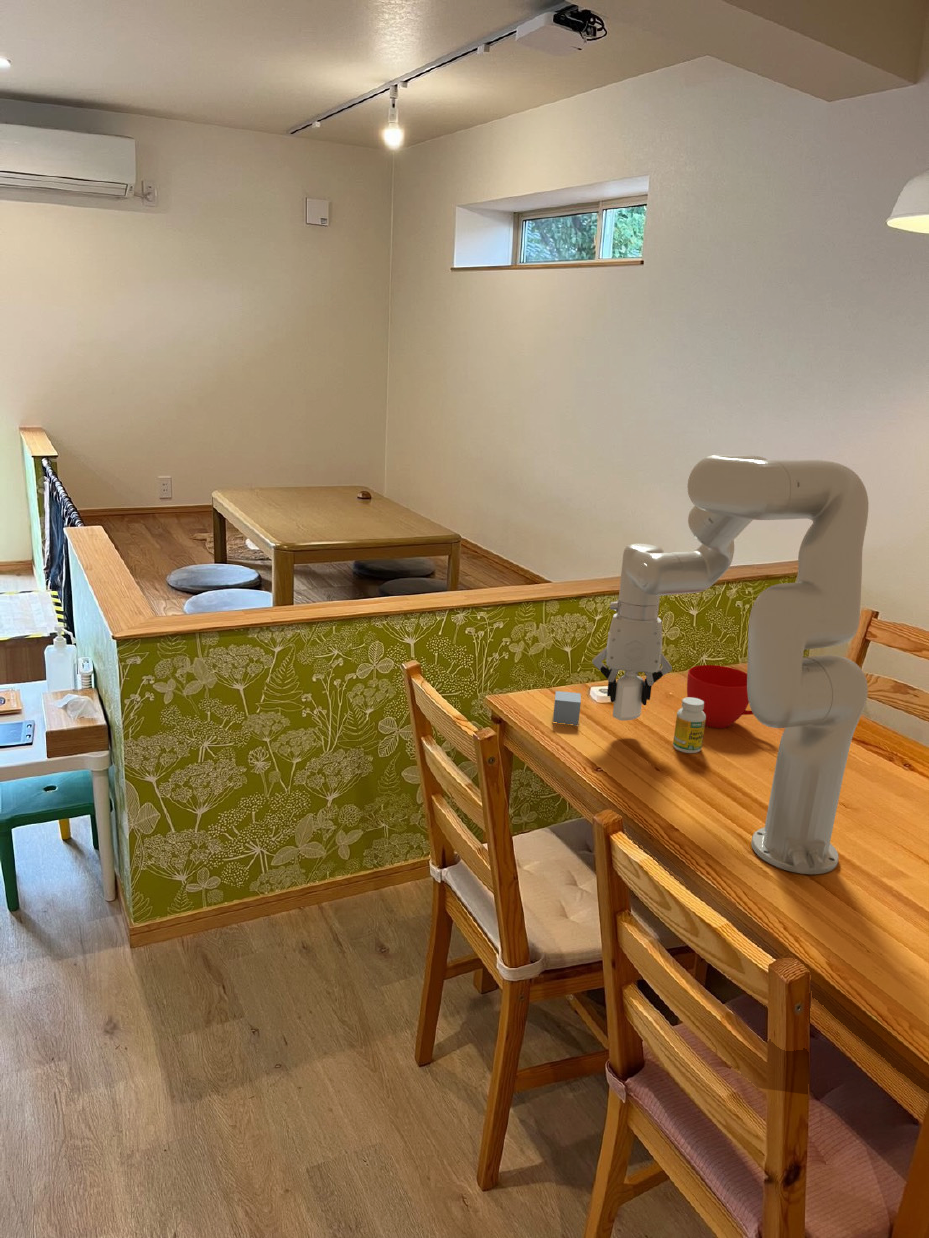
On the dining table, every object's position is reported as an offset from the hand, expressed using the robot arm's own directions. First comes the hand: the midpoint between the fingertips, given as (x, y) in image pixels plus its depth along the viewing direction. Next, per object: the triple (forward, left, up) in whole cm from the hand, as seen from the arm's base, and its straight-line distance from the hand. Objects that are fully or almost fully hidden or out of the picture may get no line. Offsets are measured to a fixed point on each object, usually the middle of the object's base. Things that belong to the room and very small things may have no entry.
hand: (628, 700), depth 182 cm
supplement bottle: (-3, -12, -7) cm, 14 cm away
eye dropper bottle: (0, 0, -4) cm, 4 cm away
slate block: (+5, +11, -7) cm, 14 cm away
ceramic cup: (+11, -21, -7) cm, 24 cm away
